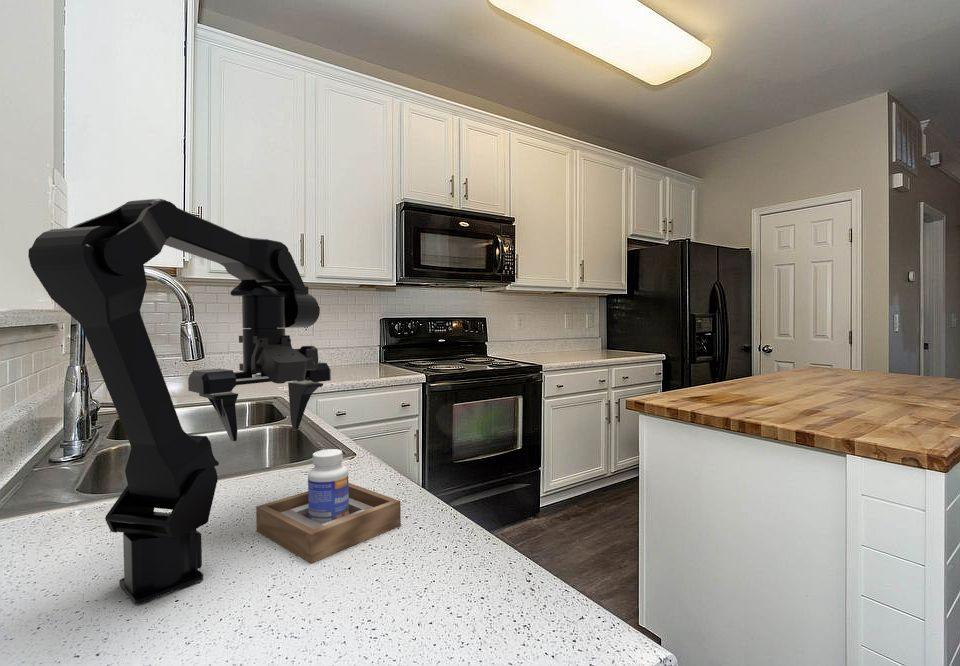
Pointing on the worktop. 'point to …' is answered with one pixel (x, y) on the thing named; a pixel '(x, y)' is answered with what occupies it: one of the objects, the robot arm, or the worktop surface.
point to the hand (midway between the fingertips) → (266, 434)
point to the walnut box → (318, 541)
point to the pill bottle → (328, 487)
